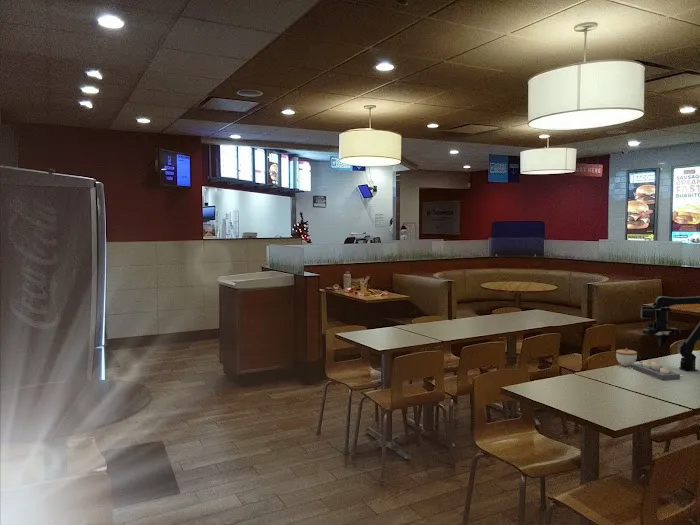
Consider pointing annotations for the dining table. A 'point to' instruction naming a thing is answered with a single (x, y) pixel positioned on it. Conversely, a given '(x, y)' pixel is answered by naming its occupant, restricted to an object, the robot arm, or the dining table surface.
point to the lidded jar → (626, 357)
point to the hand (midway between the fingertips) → (660, 346)
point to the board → (656, 372)
